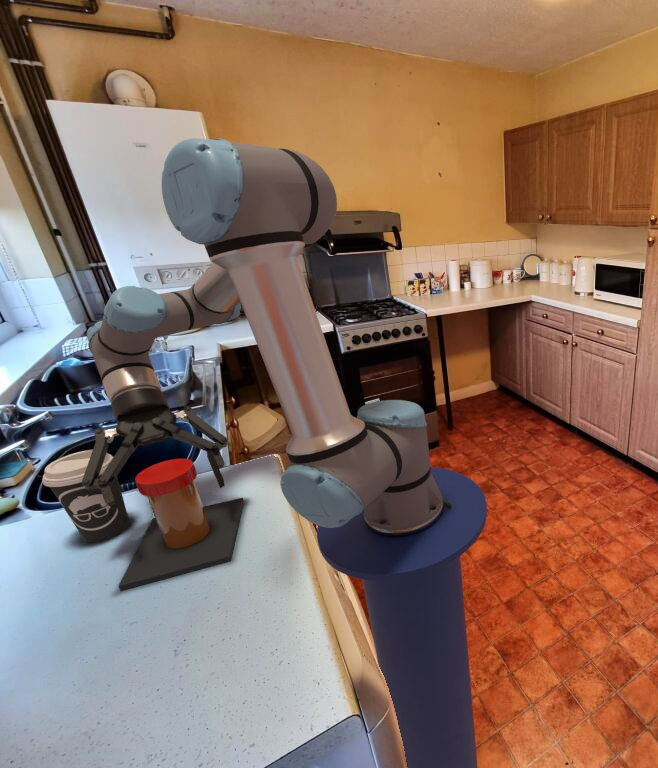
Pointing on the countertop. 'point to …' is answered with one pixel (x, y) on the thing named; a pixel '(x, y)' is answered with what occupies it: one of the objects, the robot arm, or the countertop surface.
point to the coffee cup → (84, 497)
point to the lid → (166, 477)
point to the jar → (180, 517)
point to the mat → (185, 548)
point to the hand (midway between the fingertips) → (176, 501)
